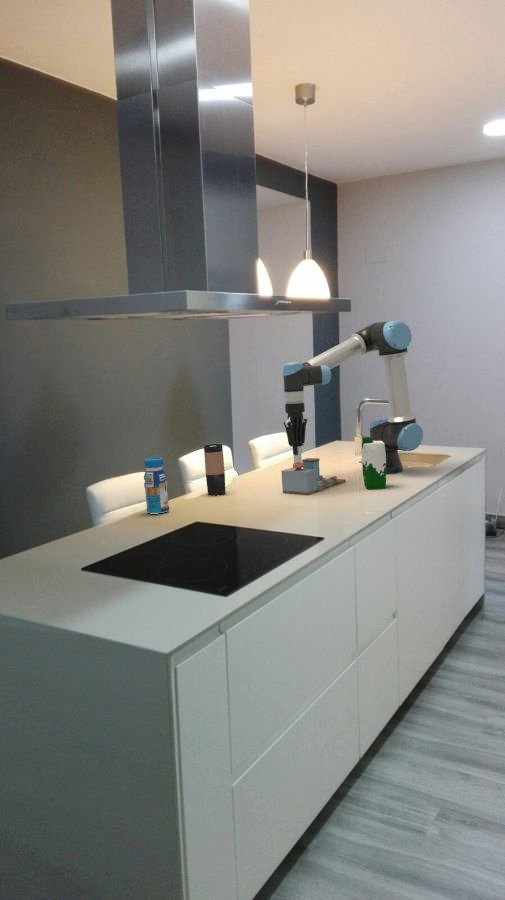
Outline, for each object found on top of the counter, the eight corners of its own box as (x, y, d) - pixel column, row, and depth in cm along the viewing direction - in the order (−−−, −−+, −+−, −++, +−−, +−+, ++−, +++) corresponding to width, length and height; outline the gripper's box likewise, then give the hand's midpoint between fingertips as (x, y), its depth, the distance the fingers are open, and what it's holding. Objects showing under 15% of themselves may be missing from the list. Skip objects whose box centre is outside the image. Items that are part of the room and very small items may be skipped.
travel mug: (227, 491, 294) (223, 443, 291) (224, 495, 286) (221, 446, 284) (208, 492, 295) (205, 444, 292) (205, 496, 287) (202, 447, 284)
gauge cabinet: (292, 487, 288) (290, 467, 287) (317, 489, 281) (316, 469, 280) (282, 490, 283) (281, 470, 282) (308, 492, 276) (306, 472, 275)
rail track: (321, 480, 305) (320, 473, 305) (345, 481, 298) (345, 474, 297) (282, 493, 284) (282, 485, 283) (308, 495, 276) (307, 487, 276)
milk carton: (362, 486, 287) (359, 436, 284) (385, 484, 286) (382, 434, 284) (365, 490, 278) (362, 439, 275) (388, 488, 278) (386, 437, 275)
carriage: (309, 483, 292) (308, 457, 291) (320, 484, 289) (319, 458, 288) (303, 485, 289) (302, 459, 288) (314, 486, 286) (313, 460, 284)
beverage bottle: (143, 512, 266) (138, 458, 263) (165, 508, 269) (161, 456, 266) (150, 516, 258) (145, 461, 255) (172, 512, 261) (168, 458, 259)
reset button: (297, 471, 284) (296, 462, 284) (306, 472, 282) (306, 462, 281) (291, 473, 281) (290, 464, 280) (300, 474, 278) (299, 464, 278)
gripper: (296, 401, 285) (299, 459, 288) (276, 404, 275) (280, 465, 278) (312, 400, 280) (315, 460, 283) (292, 403, 270) (296, 465, 273)
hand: (297, 462), depth 281 cm, fingers closed
